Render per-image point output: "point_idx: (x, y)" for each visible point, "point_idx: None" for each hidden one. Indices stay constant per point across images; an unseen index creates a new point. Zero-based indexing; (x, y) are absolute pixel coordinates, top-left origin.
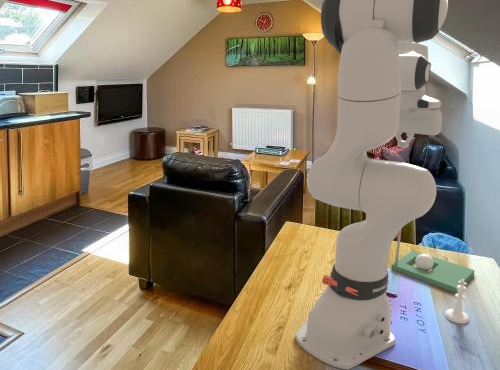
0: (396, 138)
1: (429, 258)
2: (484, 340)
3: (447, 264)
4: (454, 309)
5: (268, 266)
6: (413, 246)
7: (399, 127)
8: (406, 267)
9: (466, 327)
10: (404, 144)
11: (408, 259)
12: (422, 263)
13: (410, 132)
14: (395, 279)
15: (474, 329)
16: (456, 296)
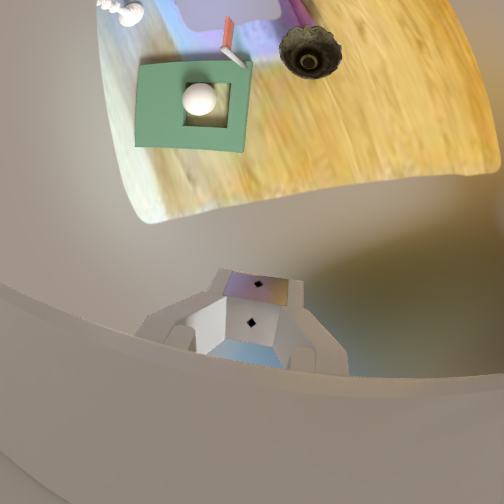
0: (320, 324)
1: (185, 95)
2: None
3: (171, 135)
4: (129, 8)
5: None
6: (256, 193)
7: (274, 418)
8: (224, 68)
9: None
10: (233, 281)
11: (233, 103)
12: (196, 83)
13: (114, 330)
14: None
15: None
16: (117, 2)
